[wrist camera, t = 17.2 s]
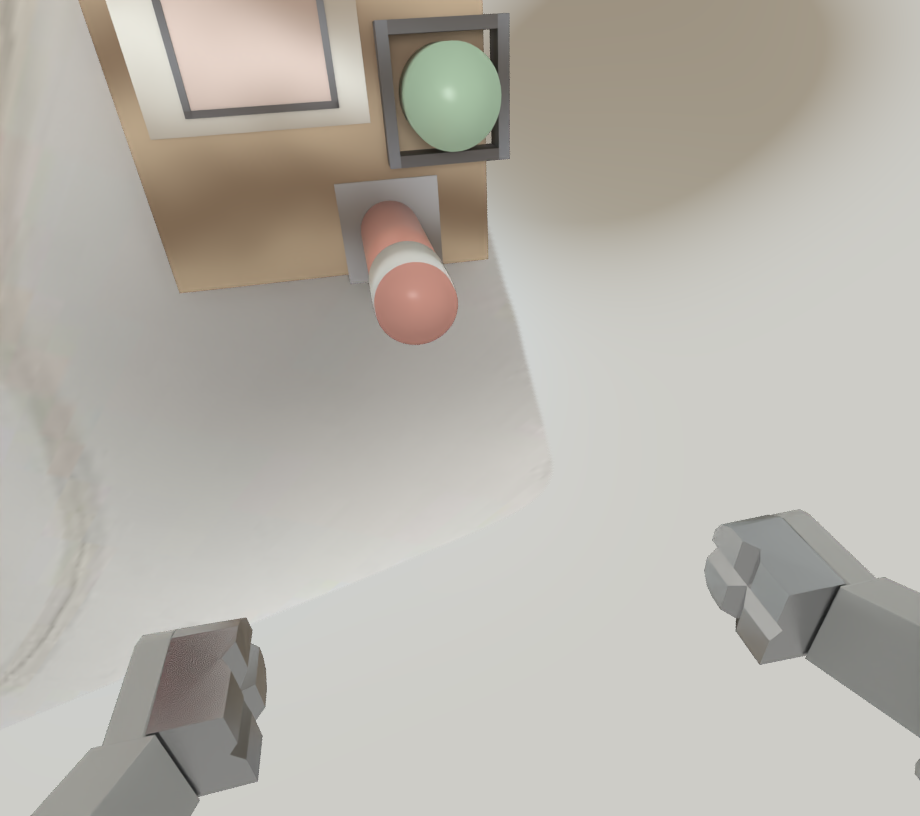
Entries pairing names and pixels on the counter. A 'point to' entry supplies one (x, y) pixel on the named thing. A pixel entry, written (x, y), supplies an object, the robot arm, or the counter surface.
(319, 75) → the picture board
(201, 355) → the counter surface
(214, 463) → the counter surface
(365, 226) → the marker
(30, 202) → the counter surface
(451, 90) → the button
